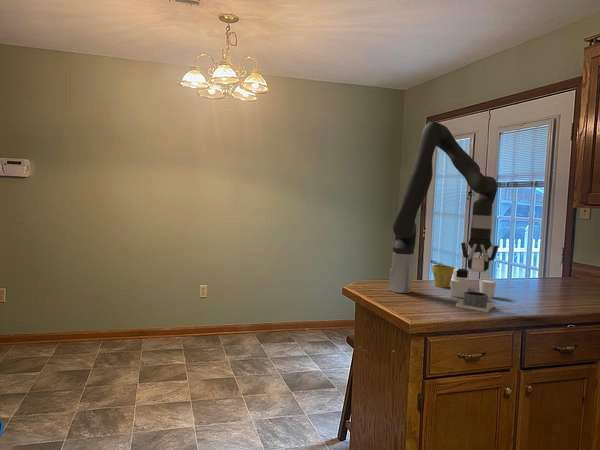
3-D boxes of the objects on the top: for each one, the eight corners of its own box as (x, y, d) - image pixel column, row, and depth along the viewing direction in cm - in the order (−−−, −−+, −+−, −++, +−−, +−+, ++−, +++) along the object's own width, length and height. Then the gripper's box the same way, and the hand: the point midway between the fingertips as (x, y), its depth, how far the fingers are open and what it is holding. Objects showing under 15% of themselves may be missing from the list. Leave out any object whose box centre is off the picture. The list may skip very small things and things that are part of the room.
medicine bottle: (467, 295, 202) (469, 268, 201) (467, 298, 195) (469, 271, 194) (450, 293, 204) (452, 267, 204) (450, 296, 198) (452, 269, 197)
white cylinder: (496, 299, 197) (497, 283, 197) (479, 297, 199) (480, 281, 198) (492, 295, 204) (494, 280, 203) (476, 294, 205) (478, 279, 205)
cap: (469, 271, 179) (470, 258, 179) (472, 269, 183) (473, 257, 183) (483, 272, 177) (484, 260, 176) (485, 271, 181) (486, 258, 180)
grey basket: (455, 306, 179) (456, 293, 179) (462, 301, 189) (463, 289, 189) (488, 312, 173) (489, 298, 172) (493, 306, 183) (494, 293, 183)
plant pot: (427, 283, 225) (428, 264, 224) (447, 284, 226) (448, 264, 226) (435, 288, 215) (437, 267, 214) (456, 288, 216) (458, 268, 215)
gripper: (502, 228, 178) (498, 271, 179) (464, 225, 186) (461, 266, 187) (499, 228, 172) (495, 273, 173) (459, 225, 179) (456, 268, 181)
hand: (477, 269), depth 180 cm, fingers closed on cap, 5 cm apart
